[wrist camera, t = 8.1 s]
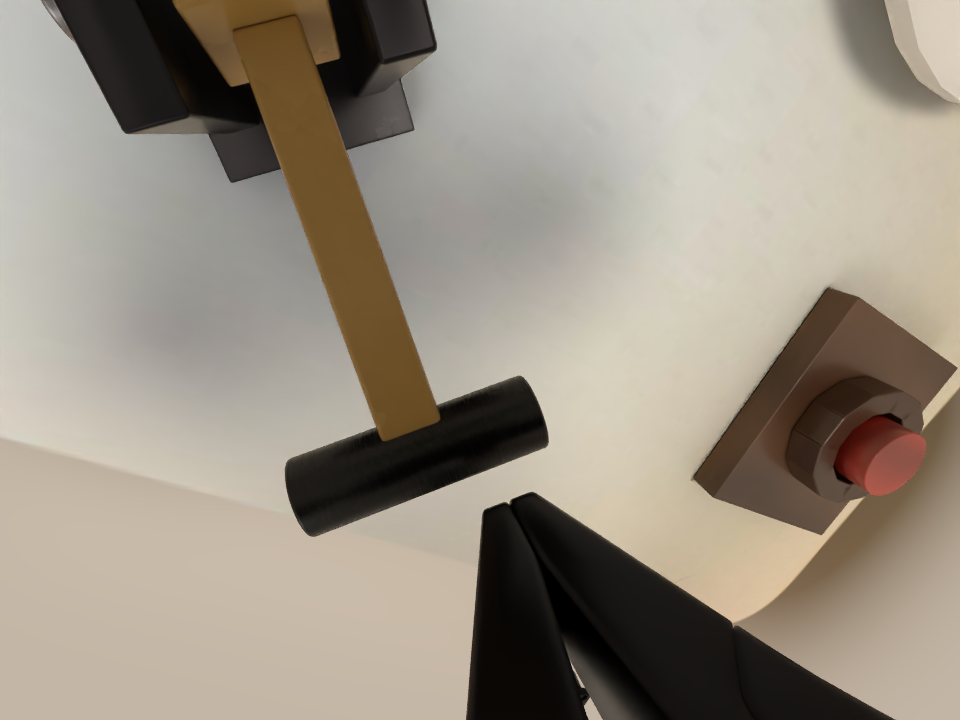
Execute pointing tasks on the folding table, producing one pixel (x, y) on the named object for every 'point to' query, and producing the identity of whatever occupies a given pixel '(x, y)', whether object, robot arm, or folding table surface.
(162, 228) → the folding table surface
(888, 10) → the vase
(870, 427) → the power button
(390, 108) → the switch bracket
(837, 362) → the box
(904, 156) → the folding table surface
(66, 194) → the folding table surface
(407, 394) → the hammer
